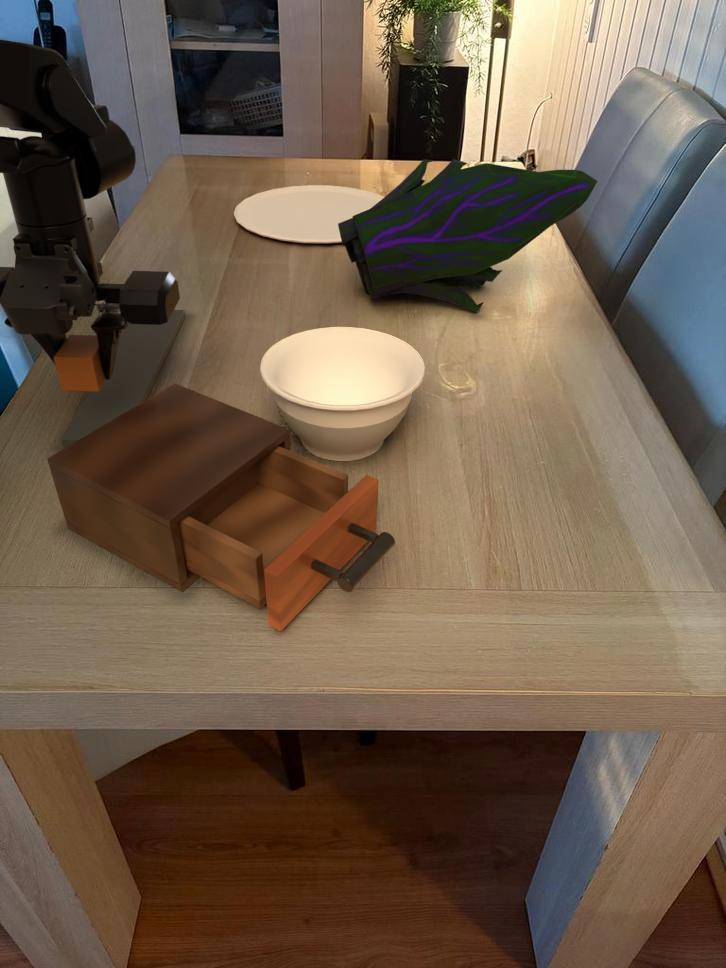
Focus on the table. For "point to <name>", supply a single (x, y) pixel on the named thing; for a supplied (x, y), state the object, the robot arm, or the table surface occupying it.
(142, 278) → the robot arm
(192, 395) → the cabinet
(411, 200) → the decorative plant
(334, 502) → the drawer
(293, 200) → the plate
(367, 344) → the bowl
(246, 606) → the table surface
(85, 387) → the orange cube block
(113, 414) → the board
